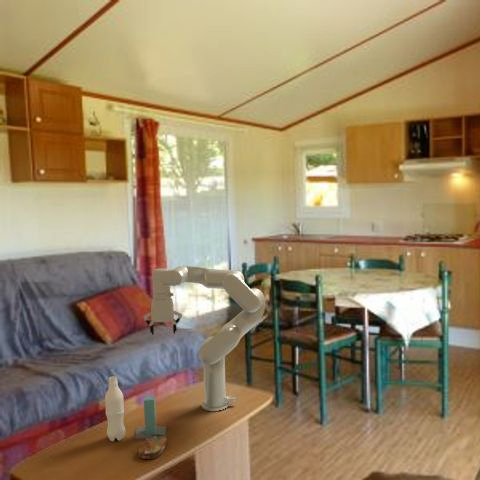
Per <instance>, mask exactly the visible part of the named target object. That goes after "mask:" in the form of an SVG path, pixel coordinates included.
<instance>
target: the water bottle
mask: <svg viewBox="0 0 480 480" xmlns="http://www.w3.org/2000/svg"><path fill="white" fill-rule="evenodd" d="M117 377H118V376H116V375H114V376H113V375H112V376H110V377H109V379H108V387H107V388H108V389H107V390H106V393H105V396H104V403H105V416H106V418H107V427H106V428H107V429H106V436H107V438H108V439H109V441H110V442H115V440H117V441H118V442H119V441H122V440H123V438H125V435H126V428H125V423H124V416H125V408H124V407H125V406H124V394H123V392H122V390H121V389H120V387H119V385H118V384H119V382H118V378H117Z"/></svg>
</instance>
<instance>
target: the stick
mask: <svg viewBox="0 0 480 480" xmlns="http://www.w3.org/2000/svg"><path fill="white" fill-rule="evenodd" d="M143 405H144V406H143V411H144V427H145V433H146V434H156V427H157V412H156V397H155V395H148V396H144V399H143Z"/></svg>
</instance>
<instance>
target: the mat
mask: <svg viewBox="0 0 480 480" xmlns="http://www.w3.org/2000/svg"><path fill="white" fill-rule="evenodd" d="M156 434H160V435H164V436H166V435H167V425H161V426H159V425H158V426H156ZM156 434H146V433H145V426H144V427H137V428H136V430H135V435H134V440H143V439H144V440H145V439H146V438H147V437H148V436H151V435H156Z"/></svg>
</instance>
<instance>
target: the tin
mask: <svg viewBox="0 0 480 480" xmlns="http://www.w3.org/2000/svg"><path fill="white" fill-rule="evenodd" d="M167 439H168V438H167V436H166V435H165V436H164V435H160V434H156V435H151V436H148V437H147V438H146V439H144V440H143V442H142V443H141V444H140V446H139V447H138V456H139V458H140V459H142V460H154V459H155V460H156V459H157V458H159V457H160V456H161V454H162V453H163V451H164V449H165V447H167V442H168V441H167Z"/></svg>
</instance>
